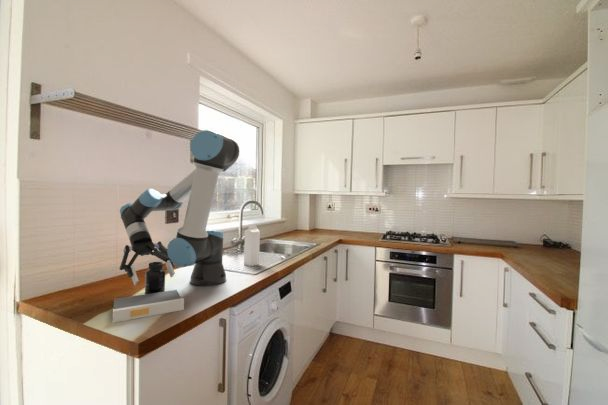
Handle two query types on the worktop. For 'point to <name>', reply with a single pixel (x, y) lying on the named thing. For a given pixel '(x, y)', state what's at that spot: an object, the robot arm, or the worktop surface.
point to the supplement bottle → (155, 278)
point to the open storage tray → (146, 305)
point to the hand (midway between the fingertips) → (155, 279)
